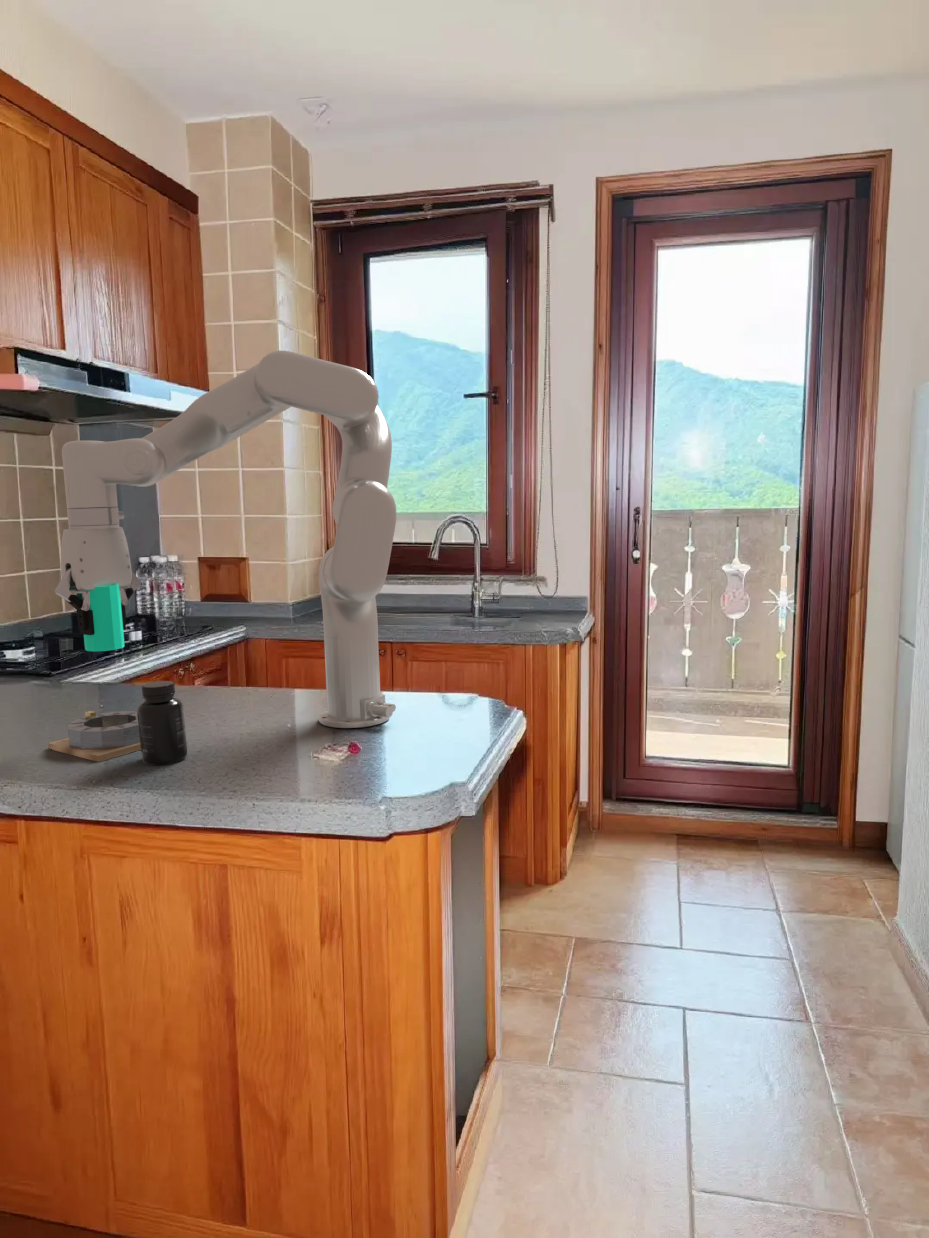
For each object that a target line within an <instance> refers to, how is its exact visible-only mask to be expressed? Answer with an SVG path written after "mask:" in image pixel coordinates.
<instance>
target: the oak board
mask: <svg viewBox="0 0 929 1238" xmlns="http://www.w3.org/2000/svg"><path fill="white" fill-rule="evenodd" d="M47 745H48V749H49V750H51V749H52V751H56V752H59V753H63V754H66V755H71V756H75V757H78V758H82V759H86V760H89V761H93V762H96V763H100V762H103V761H107V760H110V759H114V758H117V757H120V756H124V755H128V754H131V753H134V752H137V751H141V746H140V743H137V744H133V745H130V746H126V747H120V748H112V749H105V750H81V749H77V748H73V747H70V745H69V737H66V738H63V739H59V740H58V739H57V740H54V741H50V742H48V744H47Z"/></svg>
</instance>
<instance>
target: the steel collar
mask: <svg viewBox="0 0 929 1238" xmlns="http://www.w3.org/2000/svg"><path fill="white" fill-rule="evenodd" d="M67 731H68V734H67V735H68V738H69V745H70V747H73V748H77V749H81V750H105V749H112V748H120V747H126V746H130V745H133V744H137V743H140V736H139V726H138V716H137V710H136V711H135V710H130V711H129V710H124V711H123V710H121V711H119V710H118V711H109V712H102V713H96V711H94V710H93V711H92V710H88V711H84V716H83V717H78V718H77V719H74V720H72V721H70V722H68V723H67Z"/></svg>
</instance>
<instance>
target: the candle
mask: <svg viewBox="0 0 929 1238" xmlns="http://www.w3.org/2000/svg"><path fill="white" fill-rule="evenodd" d="M89 592H90V607H89V610H92V611H93V622H94V635H84V634H83V641H84V643H83V644H84V650H85V651H87V652H107V651H117V650H119V649H123V648H124V647H125V646H126V645H125V635H124V634H125V633H124V630H123V621H122V609H121V597H120V587H119V585H118V583H117V584H115V585H113V586H109V587H95V589H94V590H92V591H89ZM82 595H83V594H81V597H82Z"/></svg>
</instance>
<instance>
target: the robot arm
mask: <svg viewBox="0 0 929 1238" xmlns="http://www.w3.org/2000/svg"><path fill="white" fill-rule="evenodd" d="M379 397H380V396H379V390H378V386H377V384H376V383H375V381H374V379H373V378H372V377H371V376H370V375H368V374H367V372H364V371H363V370H361V369H358V368H356V367H352V366H349V365H344V364H341V363H336V362H333V361H329V360H325V359H320V358H317V357H313V356H309V355H305V354H302V353H299V352H294V351H289V350H274V351H271V352H269V353H267V354H266V355H265V356H263V357H262V358H261V360H260V361H259V363H256V364H255V365H253V366H252V367H250V368H248V369H246V370H245V371H242V373H240V374H238V375H237V376H235V377H233V378H231V379H229V380H227V381H226V382H225V383H221V384H220V385H219V386H216V387H215V388H213V389H211V390H209V391H207V392H205V393H203V394H202V395H200V396H199V397H198V398H197V399H195V400H193V401H192V403H191V404H190V405H189V406H188V407H187V408H185V410H184V411H183V412H182V413H180V414H179V415H178V416H176V417H174V418H173V419H172V420H170V421H169V422H166V424H163V426H161V427H158V428H157V429H155V430H154V431H152V432H150V433H148V434H147V435H144V436H143V437H137V438H126V439H120V440H119V439H118V440H112V441H103V440H102V441H101V440H90V439H89V440H72V441H67V442H65V443H64V444H63V446H62V448H61V458H62V469H63V479H64V482H63V483H64V491H65V501H66V512H67V513H66V514H67V524H68V528H66V529H63V533H62V537H61V545H60V547H61V548H60V574H61V576H60V577H61V579H60V581H59V582H58V584H57V586H56V588H55V589H54V593H55V594H56V595H57V596H58V597H60V598H61V599H63V600H65V601H66V602H67V603H68V604H69V605H70V606H72V608H73V610H75V611H76V616H77V626H78V629H79V633H80V635H83V636H84V635H94V622H93V611H92V610H89V607H90V592H89V591H92V590H94V589H95V587H109V586H113V585H115V584H117V583H118V585H119V587H120V597H121V609H122V621H123V631H124V630H126V628H127V624H126V623H127V615H126V614H127V613H126V606H127V605H128V604H129V600H130V598H131V597H132V596H133V594H134V592H135V591H136V590H137V589H138V588H139V587H140V585H142V581H141V580H140V579H139V577H138V576H137V575H136V574H135V572H134V571H133V570H132V565H131V564H132V563H131V557H130V551H129V544H128V540H127V537H126V534H125V530H124V528H123V526H120V520H124V519H125V512H124V511H122V510H121V511H120V509H119V507H118V504H119V503H118V494H117V492H118V491H117V485H125V486H126V485H127V486H134V487H144V488H145V487H150V486H153V485H155V484H157V483H159V482H161V481H163V480H164V479H165V478H167V477H170V476H171V475H172V474H174V473H176V472H178V471H179V470H181V469H183V468H185V467H187V466H188V465H190V464H191V463H194V461H196V460H198V459H200V458H202V457H203V456H206V455H207V454H209V453H211V452H214V451H216V450H219V449H221V448H223V447H225V446H227V445H228V444H230V443H231V442H233V441H235V440H236V439H238V438H239V437H242V436H244V435H245V434H247V433H248V432H250V431H251V430H253V429H256V428H257V427H258V426H260V425H262V424H264V423H266V422H268V421H269V420H271V419H273V418H274V417H276V416H278V415H279V414H281V413H283V412H285V411H287V410H288V409H290V408H292V407H293V408H295V409H298V410H303V411H306V412H310V413H314V414H318V415H323V416H324V417H325V418H326V419H327V420H328V421H329V422H330V423H332V424H333V426H335V427H336V428H337V430H338V433H339V434H340V436H341V441H342V445H341V446H342V451H341V459H340V466H339V467H340V468H339V473H338V478H337V485H336V490H335V494H334V497H333V498H334V499H333V503H332V517H333V519H334V523H335V524H336V532H335V538H334V544H333V546H331V547H330V548H329V549H328V550H327V551H326V552H325V553H324V555H323V557H322V558H321V560H320V563H319V569H318V582H319V589H320V591H319V592H320V599H321V606H322V607H321V608H322V621H323V622H322V624H323V625H322V626H323V644H324V662H325V663H324V664H325V665H324V666H325V684H326V685H325V687H326V688H325V689H326V705H327V709H326V710H324V711H322V712H320V713H319V714H318V722H319V723H320V724H322V726H325V727H330V728H337V729H338V728H339V729H357V728H358V729H359V728H368V727H373V726H376V725H380V724H383V723H385V722H387V721H388V720H389V719H390V718H391V717H392V716H393V714H394V713H393V712H395V711H396V707H397V706H396V705H395V704H394V703H390V702H389V703H388V702H387V703H386V695H385V694H382V693H381V680H380V677H381V675H380V657H379V656H380V655H379V654H380V653H379V652H380V651H379V626H378V625H379V624H378V620H379V619H378V609H377V600H376V596H377V595H378V594H379V593H380V592H381V590H382V589H383V587H384V585H385V582H386V578H387V577H388V576H387V575H388V570H389V566H390V561H391V559H390V558H391V553H392V548H393V543H394V536H395V531H396V524H397V504H396V501H395V498H394V496H393V494H392V493H391V491H390V490H389V489H388V484H389V483H388V482H389V478H390V477H389V476H390V469H391V461H392V460H391V459H392V452H393V451H392V449H393V446H392V445H393V443H392V441H393V440H392V436H391V431H390V427H389V424H388V422H387V419H386V418H385V417H386V416H385V415H384V414H383V411H382V410H381V408H380V407H379V406H378V404H379V399H380V398H379ZM72 591H74V593H72ZM81 594H83V595H82V597H81Z"/></svg>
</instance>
